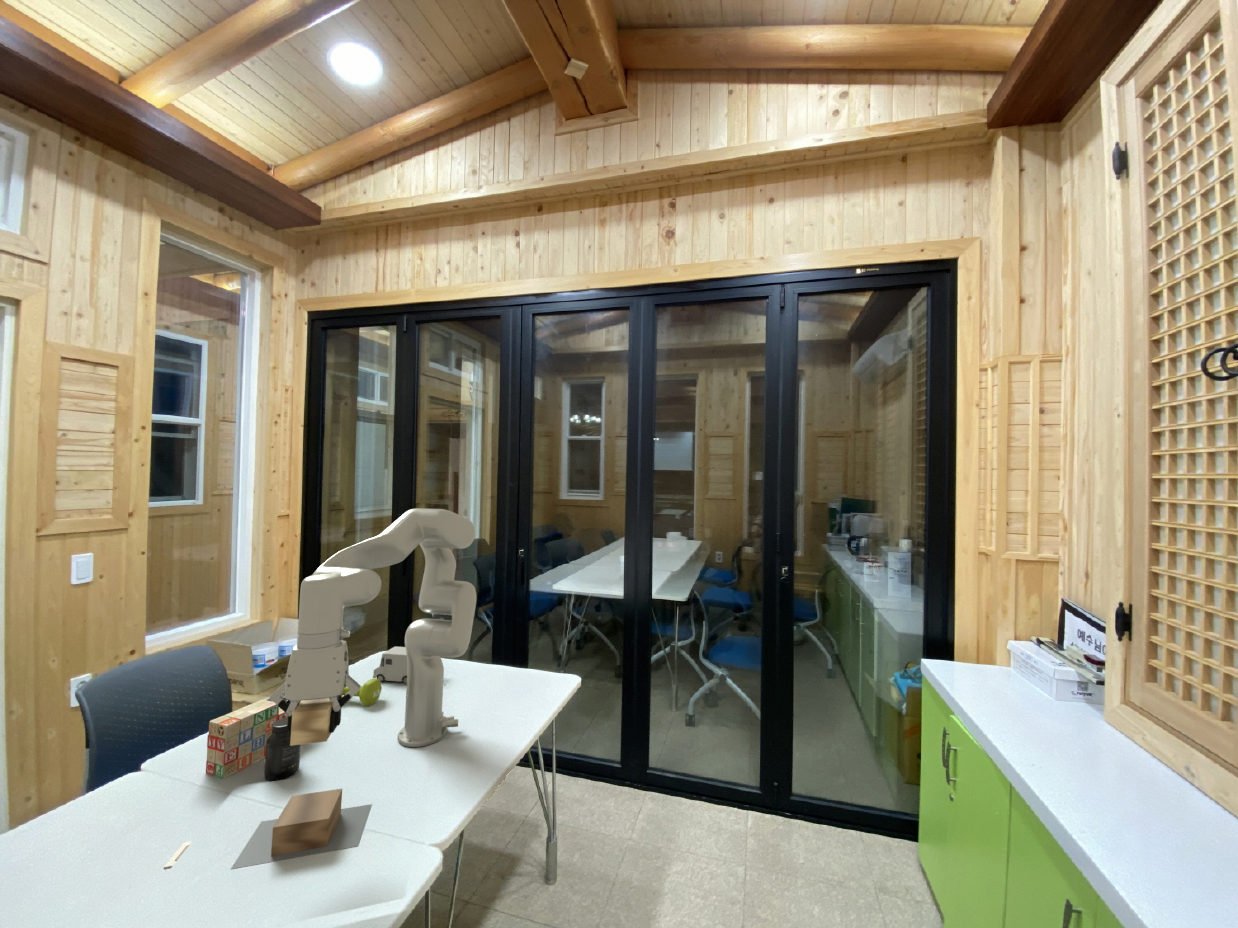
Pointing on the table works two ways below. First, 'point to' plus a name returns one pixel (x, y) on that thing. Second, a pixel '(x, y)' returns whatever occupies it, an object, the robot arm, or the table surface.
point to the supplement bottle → (280, 753)
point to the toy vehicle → (393, 666)
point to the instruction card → (177, 854)
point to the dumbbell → (367, 692)
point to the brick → (306, 822)
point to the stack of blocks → (240, 737)
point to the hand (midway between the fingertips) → (314, 730)
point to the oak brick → (311, 722)
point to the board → (342, 838)
